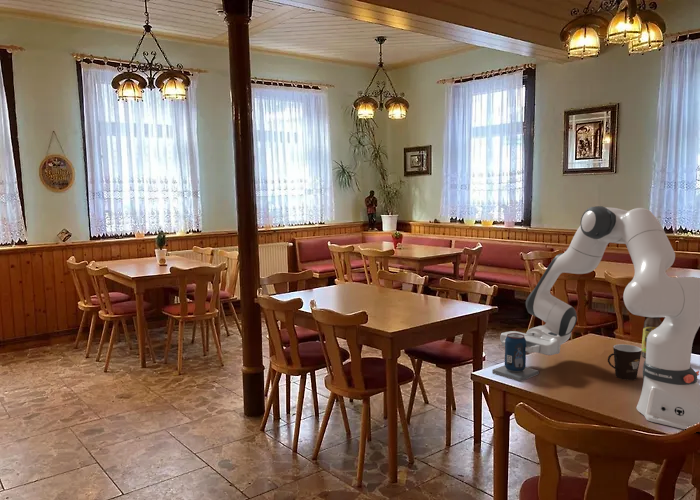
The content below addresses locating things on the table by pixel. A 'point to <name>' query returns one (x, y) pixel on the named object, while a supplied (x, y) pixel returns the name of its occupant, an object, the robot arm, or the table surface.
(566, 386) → the table surface
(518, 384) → the table surface
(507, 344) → the soda can
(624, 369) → the coffee mug
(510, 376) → the slate board
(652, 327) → the sauce bottle
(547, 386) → the table surface
